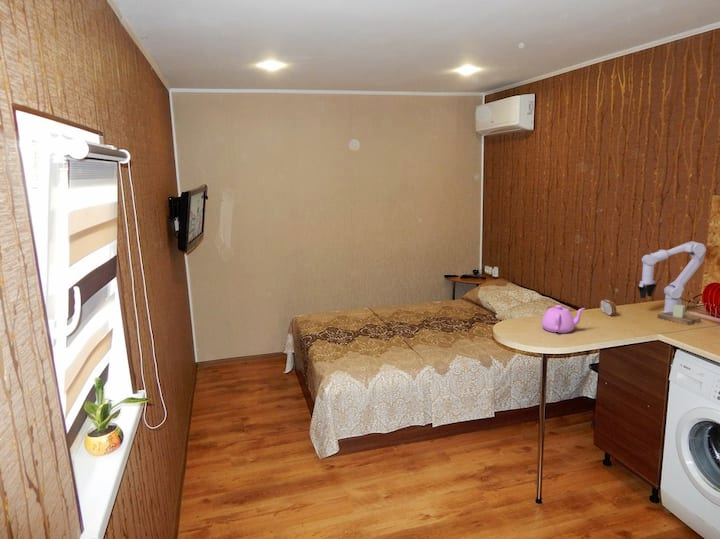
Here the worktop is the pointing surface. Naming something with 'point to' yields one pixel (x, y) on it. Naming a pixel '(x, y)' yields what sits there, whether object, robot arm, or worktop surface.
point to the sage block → (679, 311)
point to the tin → (608, 307)
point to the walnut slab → (679, 318)
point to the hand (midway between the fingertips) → (646, 296)
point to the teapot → (560, 319)
